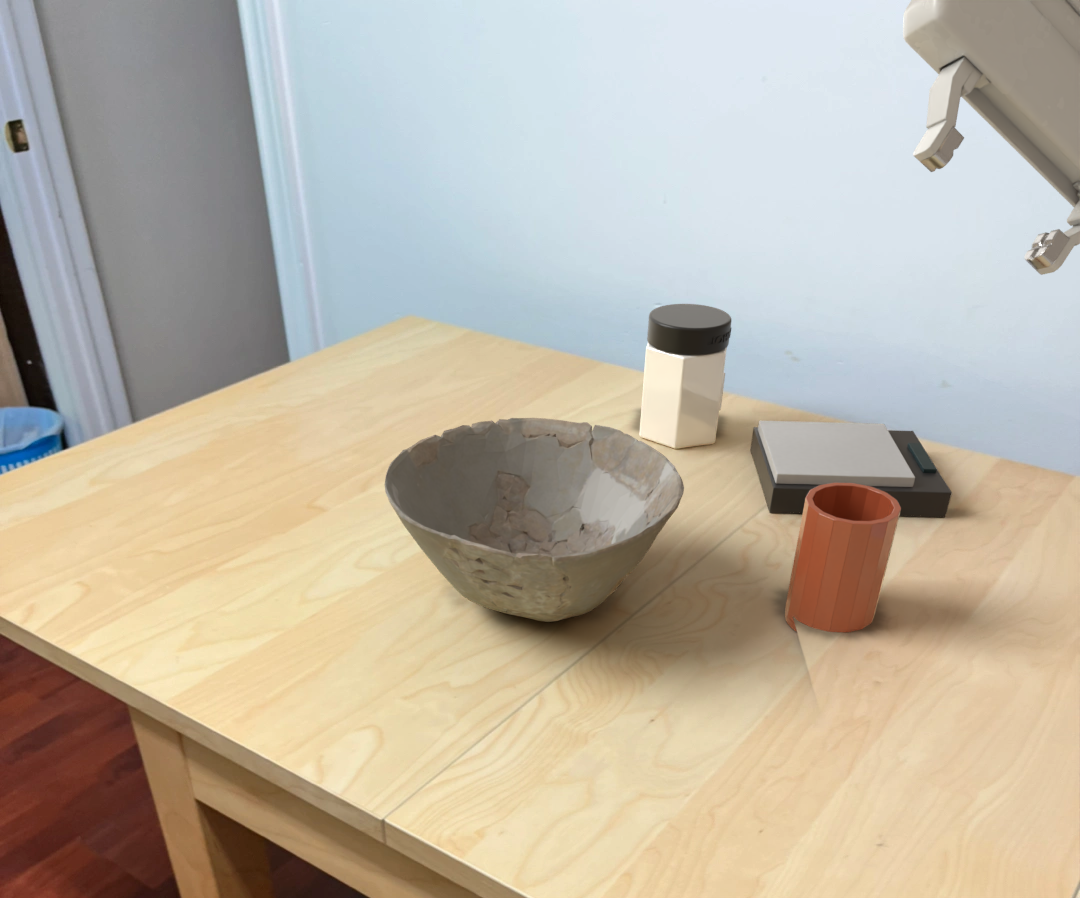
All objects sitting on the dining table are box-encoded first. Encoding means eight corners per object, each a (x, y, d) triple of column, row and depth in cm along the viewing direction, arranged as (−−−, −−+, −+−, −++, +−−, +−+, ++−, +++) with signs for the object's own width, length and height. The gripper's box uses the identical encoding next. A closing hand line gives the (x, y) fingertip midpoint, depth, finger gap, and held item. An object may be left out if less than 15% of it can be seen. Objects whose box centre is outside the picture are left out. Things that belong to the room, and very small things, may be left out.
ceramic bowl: (458, 704, 72) (452, 579, 66) (357, 555, 88) (345, 443, 82) (729, 632, 79) (746, 513, 73) (590, 506, 96) (595, 400, 89)
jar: (715, 453, 105) (730, 333, 98) (635, 446, 106) (644, 326, 99) (720, 419, 112) (734, 305, 105) (644, 413, 113) (653, 299, 106)
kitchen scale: (907, 454, 106) (915, 421, 104) (945, 517, 95) (955, 482, 93) (750, 450, 106) (754, 417, 104) (769, 513, 95) (775, 477, 93)
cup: (861, 599, 83) (888, 483, 77) (879, 645, 78) (910, 525, 72) (778, 596, 84) (799, 481, 77) (791, 642, 78) (815, 522, 72)
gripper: (1042, -178, 52) (887, 74, 53) (1280, 97, 58) (1137, 314, 60) (963, -115, 58) (825, 110, 59) (1188, 128, 64) (1060, 325, 66)
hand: (985, 215), depth 59 cm, fingers open, 8 cm apart
